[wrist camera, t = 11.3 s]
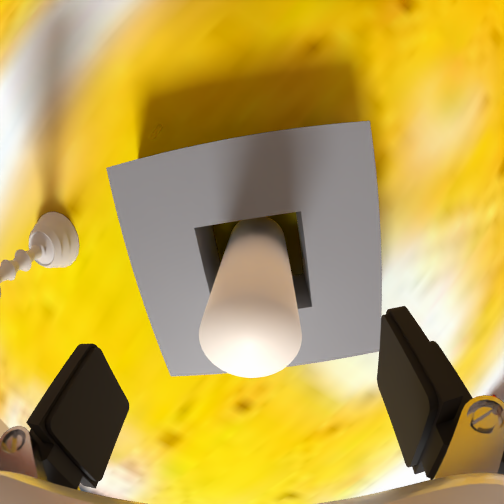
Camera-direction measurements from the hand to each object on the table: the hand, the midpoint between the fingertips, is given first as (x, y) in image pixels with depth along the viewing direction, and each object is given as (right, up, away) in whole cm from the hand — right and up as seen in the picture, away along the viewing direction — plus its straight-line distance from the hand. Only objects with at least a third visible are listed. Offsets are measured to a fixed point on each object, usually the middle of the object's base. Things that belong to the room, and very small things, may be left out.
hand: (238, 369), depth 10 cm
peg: (+1, +4, +14) cm, 15 cm away
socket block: (+1, +4, +14) cm, 14 cm away
